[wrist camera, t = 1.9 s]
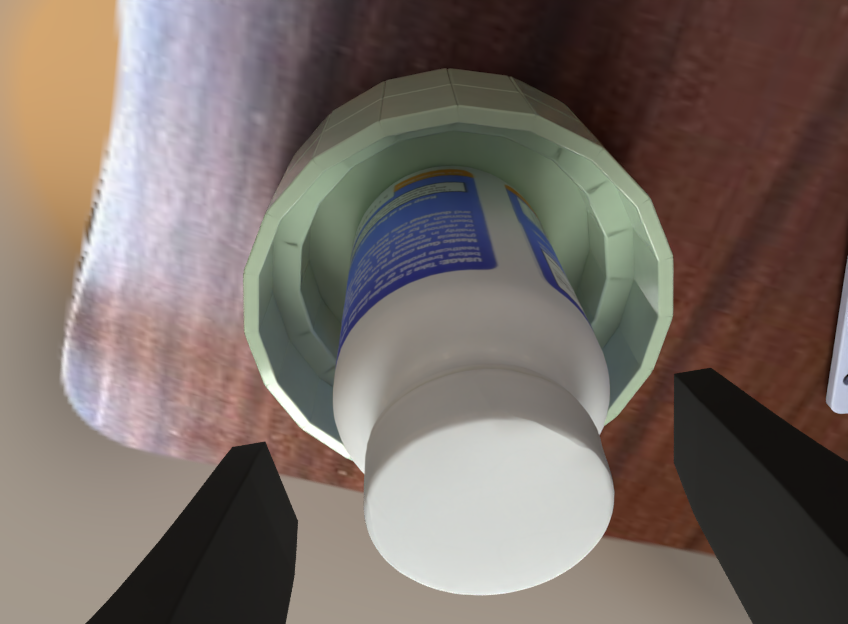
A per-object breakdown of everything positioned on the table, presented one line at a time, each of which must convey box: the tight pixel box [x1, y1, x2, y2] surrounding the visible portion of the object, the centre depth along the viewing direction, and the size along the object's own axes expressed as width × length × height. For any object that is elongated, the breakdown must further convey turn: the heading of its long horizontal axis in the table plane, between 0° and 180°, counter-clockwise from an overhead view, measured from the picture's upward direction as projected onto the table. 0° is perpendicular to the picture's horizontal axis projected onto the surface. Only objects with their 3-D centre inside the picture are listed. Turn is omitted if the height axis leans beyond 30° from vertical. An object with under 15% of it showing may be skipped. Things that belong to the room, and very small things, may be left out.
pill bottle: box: [333, 166, 614, 595], centre depth 15 cm, size 5×5×10 cm
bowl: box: [243, 68, 673, 461], centre depth 17 cm, size 10×10×4 cm
